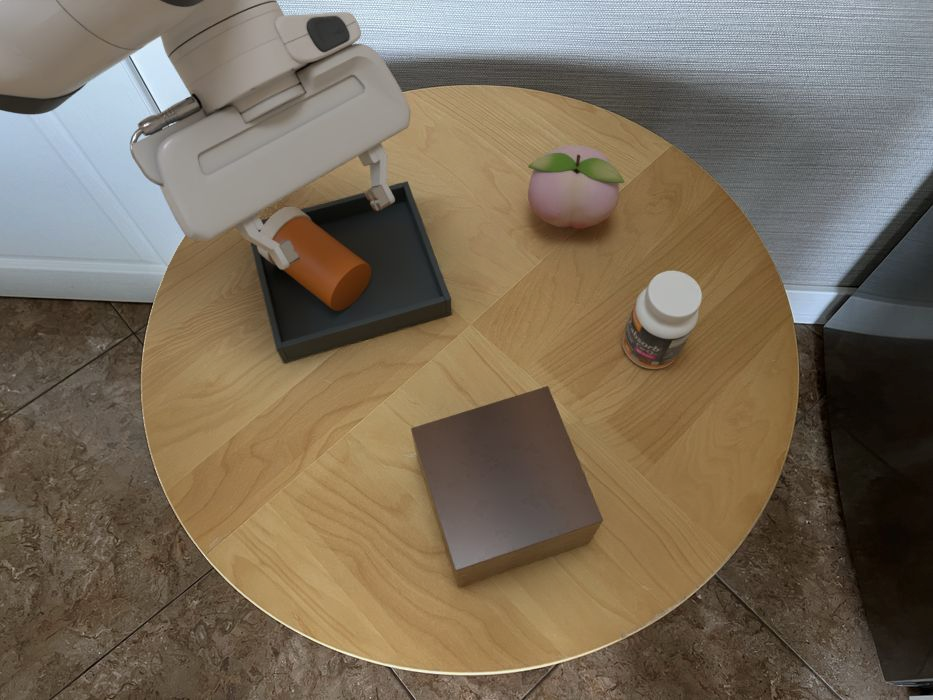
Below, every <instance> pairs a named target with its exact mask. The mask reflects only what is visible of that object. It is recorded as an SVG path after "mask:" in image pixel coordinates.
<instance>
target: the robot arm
mask: <svg viewBox="0 0 933 700" xmlns="http://www.w3.org/2000/svg"><path fill="white" fill-rule="evenodd" d="M361 37H362V30H361V27H360V25H359V22H358V21H357V19H356V17H355V16H354V14H353V13H351V12H348V11H336V12H335V11H334V12H323V13H311V14H310V13H308V14H286V15H285V14H284V12H283V11H282V8H281V6H280V5H279V3H278V0H0V111H2V112H7V113H11V114H18V115H33V116H34V115H42V114H46V113H49V112H52V111H54V110H55V109H57V108H59V107H60V106H62V104H64V103H65V102H67V100H69V99H71V97H73V96H74V95H76V94H77V93H78V92H79V91H81V90H82V89H84V88H85V86H86V85H87V84H88V83H89V82H91V81H93V80H94V79H96V78H97V77H99V76H100V75H102V74H104V73H105V72H107V71H109V70H110V69H111V68H113V67H115V66H117V64H120V63H121V62H122V61H124V60H125V59H127V58H129V57H130V56H132V55H134V54H135V53H137V52H138V51H140V50H142V49H143V48H144V47H146V46H147V45H149V44H150V43H152V42H153V41H156V40H157V39H158V38H160V39H161V42H162V46H163V50H164V52H165V54H166V57H167V58H168V60H169V61H170V63H171V65H172V67H173V68H174V70H175V72H176V73H177V75H178V77H179V78H180V80H181V81H182V83H183V85H184V86H185V88H186V89H187V92H188V93H189V95H190V96H188V97H186V98H184V99H182V100H180V101H178V102H176V103H173V104H172V105H171V106H169V107H167V108H166V109H165V110H163V111H161V112H159V113H156V114H151V115H149V116H147V117H145V118H143V119H142V120H140V121H139V122H138V123H137V127H138V128H137V129H136V130H135V131H134V132H133V134H132V135H131V137H130V141H129V151H130V154H131V155H130V156H131V157H132V159H133V160H134V162H135V164H136V165H137V167H138V168H139V170H140V171H141V173H142V174H143V176H144V177H145V178H146V179H147V180H148V181H150V183H153V184H154V185H157V186H159V188H160V190H161V194H162V195H163V197H164V199H165V202H166V204H167V206H168V208H169V210H170V212H171V214H172V216H173V218H174V220H175V221H176V223H177V225H178V227H179V228H180V230H181V231H182V233H183V235H184V236H185V237H187V238H188V239H190V240H193V241H195V242H196V241H197V242H199V243H205V242H209V241H211V240H213V239H216V238H217V237H219V236H221V235H223V234H224V233H226V232H228V231H229V230H231V229H232V228H236V229H237V231H238V233H239V234H240V236H241V237H242V238H243V239H244V240H246V241H248V242H249V243H250V244H251V243H253V244H255V245H257V246H259V247H260V248H262V249H264V250H267V251H268V252H269V254H270V256H271V257H272V259H273V260H274V262H275V264H276V265H277V267H278V268H279V269H281V270H284V269H286V268H288V267H290V266H291V265H292V264H294V263H296V262H297V261H299V260H300V258H299V255H298V254H297V252H295V251H294V247H293V245H292V244H291V242H290V240H286V241H281V242H280V243H277V242H275V241H274V240H272V239H270V238H269V237H267V236H265V235H264V234H262V233H260V232H259V231H258V230H261V229H263V228H264V225H263V223H262V221H261V220H262V219H261V217H260V216H259V214H260V213H261V212H263V211H264V210H266V209H268V208H269V207H272V206H273V205H275V204H277V203H278V202H280V201H282V200H284V199H285V198H288V197H289V196H291V195H292V194H294V193H297V192H298V191H299V190H301V189H303V188H305V187H307V186H308V185H310V184H312V183H314V182H315V181H317V180H318V179H320V178H322V177H324V176H326V175H327V174H330V173H331V172H332V171H335V170H336V169H339V167H342V166H343V165H345V164H347V163H348V162H350V161H353V160H354V159H356V158H357V157H358V159H359V161H360V162H361V164H362V166H364V167H368V166H369V173H370V174H369V175H370V188H368V189H367V190H365V191H364V192H363V193H364V194H365V196H366V197H367V199H368V200H369V201H370V205H371V207H372V208H373V209H374V210H375V211H378V210H382V209H384V208H385V207H387V206H389V205H390V204H392V203H394V202H395V198H394V196H393V194H392V192H391V190H390V188H389V186H390V185H389V184H388V162H389V161H388V160H389V159H388V155H387V152H386V151H385V149H384V147H383V144H382V143H384V142H385V141H387V140H388V139H391V138H392V137H394V136H396V135H398V134H400V133H401V132H403V131H405V130H406V129H408V128H409V127H410V123H411V122H410V121H411V113H412V111H411V108H410V104H409V103H408V100H407V99H406V96H405V94H404V92H403V90H402V89H401V87H400V85H399V83H398V82H397V80H396V78H395V76H394V75H393V73H392V72H391V70H390V68H389V67H388V65H387V64H386V62H385V61H384V59H383V58H382V56H380V54H379V53H378V52H377V51H376V50H375V49H374V48H372V47H371V46H369V45H366V44H364V43H356V42H357V41H358V40H359V39H360V38H361ZM142 135H143V136H144V138H142V139H140V140H139V138H140V137H141V136H142Z"/></svg>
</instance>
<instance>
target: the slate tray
mask: <svg viewBox="0 0 933 700" xmlns="http://www.w3.org/2000/svg"><path fill="white" fill-rule="evenodd" d="M388 186H389V188H390V190H391V192H392V194H393V196H394V198H395V202H394V203H392V204H390V205H389V206H387V207H385V208H384V209H382V210H378V211H375V210H374V209H373V208H372V207H371V205H370V201H369V200H368V199H367V197H366V196H365V194H364V192H361V193H358V194H354V195H349V196H346V197H343V198H338V199H334V200H331V201H328V202H323V203H319V204H316V205H312V206H308V207H305V208H299V209H300V210H301V211H302V212H304V213H305V214H306V215H308V216H309V217H310V218H311V220H312V222H314V223H315V224H316V225H317V226H319V227H320V228H321V229H323V230H324V231H325V232H327V233H328V234H329V235H331V236H332V237H333V238H335V239H336V240H337V241H338V242H340V243H341V244H342V245H344V246H345V247H346V248H348V249H349V250H350V251H352V252H353V253H354V254H356V255H357V256H358V257H359V258H361V259H362V260H363V261H365V262H366V263H367V264H369V266H370V268H371V276H370V280H369V282H368V284H367V286H366V288H365V290H364V291H363V293H362V294H361V295H360V296H359V298H358V299H357V300H356V301H355V302H354V303H353V304H351V305H350V306H349V307H347V308H345V309H343V310H340V311H334V310H333V309H331V308H330V307H329V306H328V305H326V304H325V303H324V302H323V301H321V300H320V299H319V298H318V297H316V296H315V295H314V294H313V293H311V292H310V291H309V290H308V289H306V288H305V287H304V286H303V285H301V284H300V283H299V282H298V281H296V280H295V279H294V278H293V277H291V276H290V275H289V274H288V273H286V272H285V271H284V270H281V269H279V268H278V267H277V265H274V264H272V263H271V262H269V261H268V260H267V259H266V258H264V257H263V256H262V255H261V254H260V253H259V251H258V249H257V245H255V244H253V243H251V242H250V246H251V250H252V254H253V259H254V263H255V266H256V271H257V275H258V279H259V283H260V288H261V292H262V296H263V300H264V305H265V308H266V313H267V317H268V320H269V325H270V329H271V332H272V337H273V341H274V345H275V350H276V352H277V354H278V356H279V357H280V359H281V361H282V363H283V364H287V363H290V362H294V361H297V360H301V359H304V358H308V357H311V356H314V355H318V354H321V353H324V352H328V351H332V350H335V349H338V348H342V347H345V346H348V345H352V344H355V343H356V344H357V343H360V342H363V341H366V340H369V339H373V338H376V337H380V336H384V335H387V334H390V333H393V332H394V333H395V332H398V331H400V330H404V329H408V328H411V327H414V326H418V325H422V324H425V323H428V322H431V321H434V320H439V319H442V318H446V317H449V316H452V315H453V310H452V297H451V295H450V292H449V289H448V287H447V284H446V282H445V281H446V280H445V278H444V275H443V273H442V271H441V267H440V265H439V262H438V259H437V257H436V255H435V252H434V249H433V245H432V243H431V241H430V237H429V236H428V232H427V230H426V227H425V225H424V222H423V219H422V217H421V214H420V210H419V208H418V206H417V203H416V200H415V198H414V195H413V192H412V190H411V186H410V184H409V181H408V180H406V181H403V182H399V183H395V184H392V185H388ZM269 218H270V217H267V218H263V219H261V221H262V223H263V225H264V224H265V223H266V221H267V220H268V219H269ZM258 231H259V232H260V231H261V230H258Z"/></svg>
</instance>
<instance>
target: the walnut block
mask: <svg viewBox="0 0 933 700" xmlns="http://www.w3.org/2000/svg"><path fill="white" fill-rule="evenodd" d="M410 432H411V435H412V441H413V444H414V449H415V450H414V451H415V454H416V459H417V462H418V466H419V469H420V472H421V475H422V479H423V481H424V484H425V488H426V491H427V494H428V497H429V501H430V505H431V508H432V511H433V513H434V517H435V520H436V524H437V526H438V527H437V528H438V530H439V533H440V536H441V539H442V542H443V547H444V549H445V552H446V556H447V558H448V562H449V565H450V568H451V571H452V574H453V577H454V581H455V584H456V588H457V589H461V588H463V587H465V586H470V585H472V584H475V583H478V582H481V581H484V580H486V579H489V578H493V577H496V576H499V575H501V574H505V573H507V572H510V571H513V570H516V569H519V568H523V567H525V566H528V565H531V564H534V563H536V562H540V561H542V560H545V559H548V558H551V557H554V556H557V555H560V554H563V553H567V552H569V551H572V550H574V549H577V548H581V547H584V546H586V545H590V543H591V542H592V540H593V539H594V537H595V535H596V534H597V532H598V530H599V529H600V527H601V526H602V524H603V523H604V519H603V516H602V514H601V512H600V508H599V506H598V504H597V501H596V499H595V497H594V494H593V492H592V489H591V486H590V484H589V482H588V479H587V477H586V475H585V472H584V470H583V467H582V465H581V462H580V460H579V458H578V454H577V453H576V450H575V448H574V446H573V443H572V441H571V438H570V436H569V434H568V433H569V432H568V431H567V429H566V426H565V424H564V421H563V418H562V417H561V414H560V411H559V409H558V407H557V404H556V402H555V400H554V397H553V395H552V392H551V390H550V387H549V386H548V385H547V386H542V387H540V388H536V389H533V390H531V391H527V392H524V393H520V394H517V395H514V396H511V397H508V398H504V399H501V400H497V401H495V402H491V403H488V404H485V405H482V406H478V407H475V408H472V409H469V410H466V411H462V412H459V413H456V414H452V415H449V416H446V417H443V418H439V419H436V420H434V421H430V422H427V423H423V424H420V425H417V426H413V427H411V428H410Z"/></svg>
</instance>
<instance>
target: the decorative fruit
mask: <svg viewBox="0 0 933 700" xmlns="http://www.w3.org/2000/svg"><path fill="white" fill-rule="evenodd" d="M527 168H528V169H531V170H532V172H531V176H530V178H529V183H528V188H527V189H528V190H527V200H528V202H529V207H530V209H531V210H532V212H533V213H534V214H535V215H536V216H537V217H538V218H539V219H540V220H542V221H543V222H546V223H547V224H549V225H551V226H554V227H557V228H568V227H571V228H575V229H585V228H589V227H592V226H595V225H598V224H600V223H601V222H603V221H605V220H607V219H608V218H609V217H610V216H611V215H612V214H613V213H614V211H615V210H616V208H617V206H618V203H619V197H620V184H624V183H625V180H624V177H623V176H622V174H621V172H619V170H618V169H617V168H616V167H615V166H613V164H612V162H611V161H610V159H609V158H608V157H607V156H606V155H605V154H604V153H602V152H601V151H600V150H598V149H596V148H594V147H591V146H586V145H583V144H582V145H581V144H565V145H559V146H558V147H554V148H552V149H551V150H549V151H547V152H546V153H545V154H544V155H542V156H540V157H538V158H536V159H535V160H534V161H532V162H531V163H530V164H529V165H528V166H527Z"/></svg>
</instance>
